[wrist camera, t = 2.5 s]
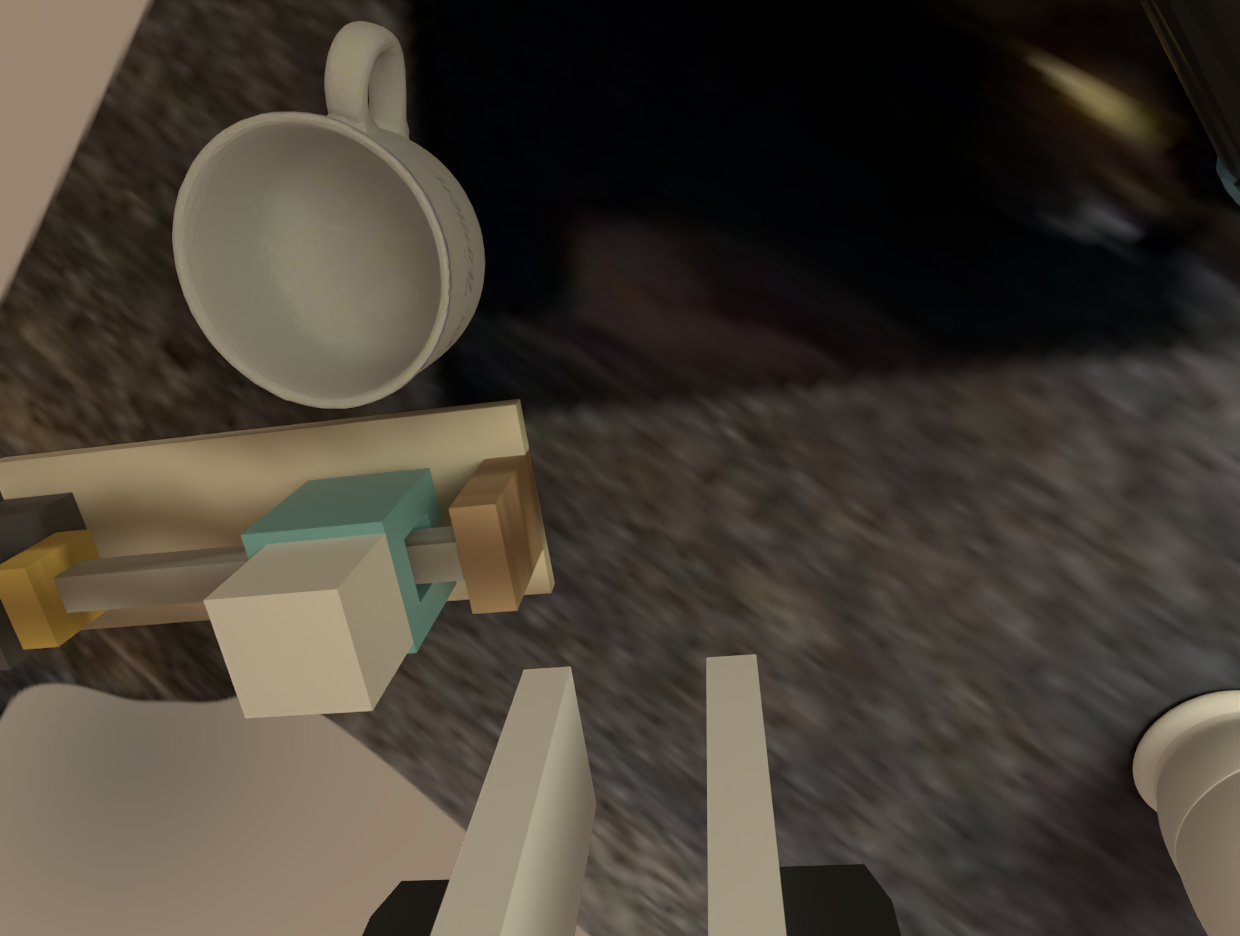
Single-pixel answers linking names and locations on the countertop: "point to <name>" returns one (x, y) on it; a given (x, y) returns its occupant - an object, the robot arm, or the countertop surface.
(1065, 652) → the countertop surface
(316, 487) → the sleeve
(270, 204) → the teacup
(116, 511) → the rail
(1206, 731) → the jar
